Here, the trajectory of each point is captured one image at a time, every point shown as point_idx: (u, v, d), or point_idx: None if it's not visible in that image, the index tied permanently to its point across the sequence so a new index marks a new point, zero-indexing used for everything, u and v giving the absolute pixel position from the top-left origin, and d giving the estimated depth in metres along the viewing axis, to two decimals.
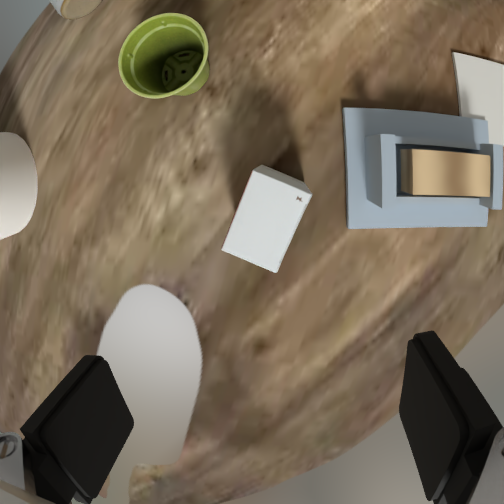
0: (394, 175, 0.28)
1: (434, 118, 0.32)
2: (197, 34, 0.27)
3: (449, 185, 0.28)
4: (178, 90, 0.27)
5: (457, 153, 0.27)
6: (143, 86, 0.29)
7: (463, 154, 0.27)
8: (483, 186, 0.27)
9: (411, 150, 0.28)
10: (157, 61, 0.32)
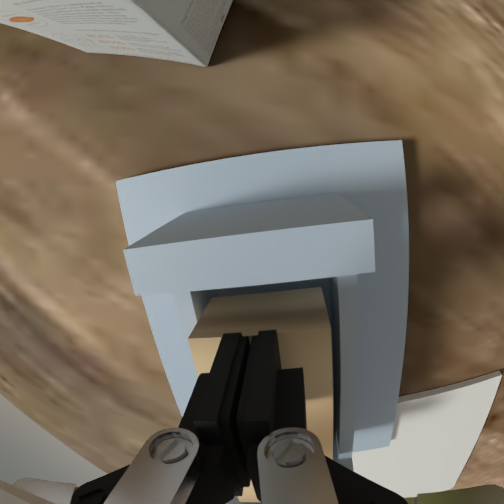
0: (233, 280, 0.09)
1: (393, 355, 0.16)
2: None
3: None
4: None
5: (329, 445, 0.11)
6: None
7: (328, 456, 0.11)
8: None
9: (325, 324, 0.10)
10: None
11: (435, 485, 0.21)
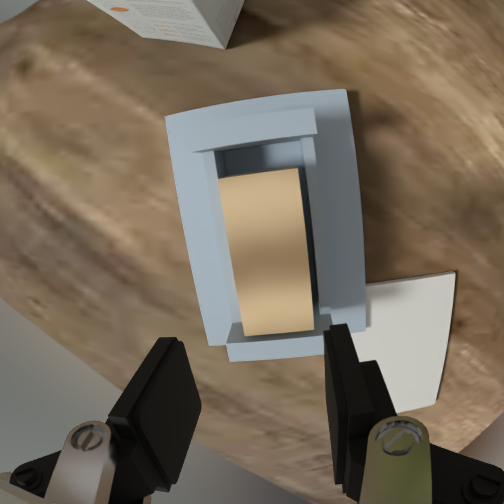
0: (245, 139, 0.17)
1: (355, 236, 0.24)
2: None
3: (246, 249, 0.19)
4: None
5: (306, 262, 0.19)
6: None
7: (306, 274, 0.19)
8: (259, 321, 0.20)
9: (295, 168, 0.18)
10: None
11: (417, 397, 0.29)
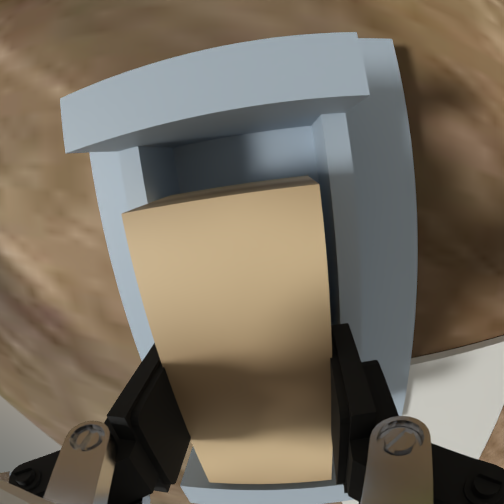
0: (181, 110, 0.06)
1: (403, 296, 0.14)
2: None
3: (197, 368, 0.08)
4: None
5: (328, 393, 0.08)
6: None
7: (326, 412, 0.08)
8: (232, 469, 0.09)
9: (311, 184, 0.07)
10: None
11: None
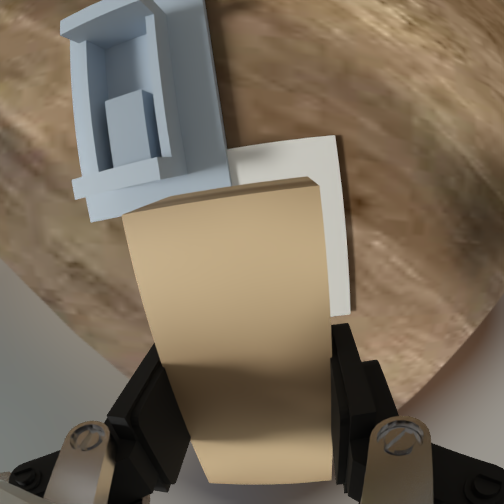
0: (92, 17, 0.17)
1: (208, 97, 0.24)
2: None
3: (197, 369, 0.08)
4: None
5: (328, 394, 0.08)
6: None
7: (326, 412, 0.08)
8: (232, 470, 0.09)
9: (311, 185, 0.07)
10: None
11: None
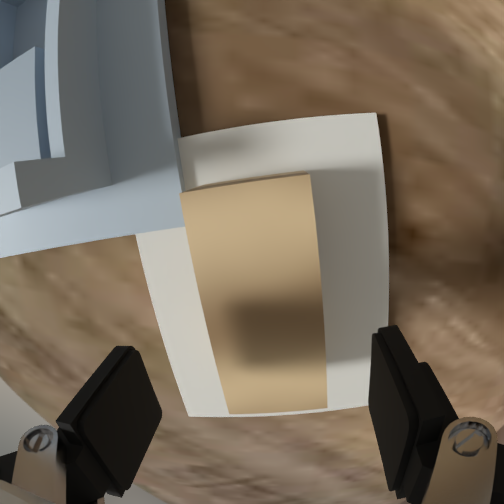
0: None
1: (147, 49, 0.12)
2: None
3: (226, 304, 0.12)
4: None
5: (320, 322, 0.12)
6: None
7: (320, 339, 0.12)
8: (249, 398, 0.13)
9: (305, 174, 0.11)
10: None
11: (341, 386, 0.17)
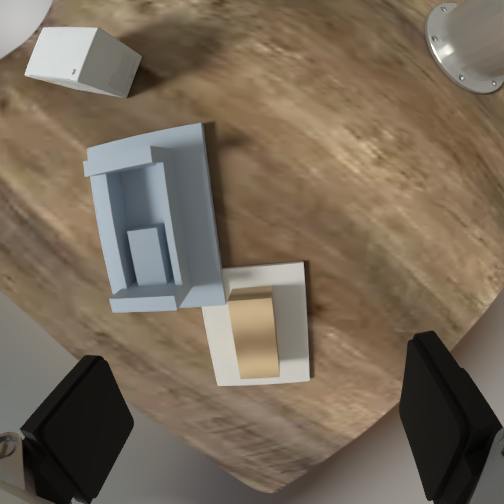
0: (112, 168, 0.27)
1: (208, 230, 0.34)
2: None
3: (242, 337, 0.34)
4: None
5: (275, 344, 0.34)
6: None
7: (275, 349, 0.34)
8: (248, 371, 0.35)
9: (270, 297, 0.33)
10: None
11: (289, 370, 0.39)
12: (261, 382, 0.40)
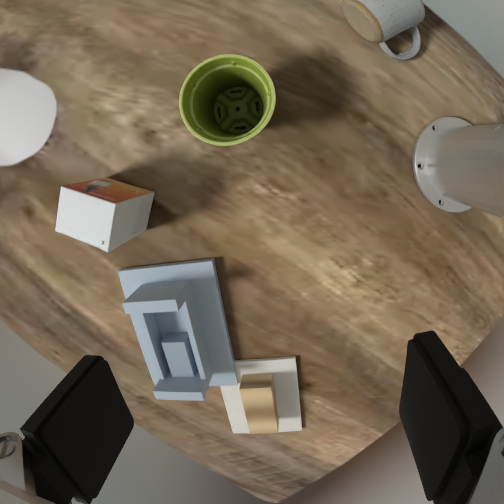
0: (147, 311, 0.37)
1: (222, 338, 0.44)
2: (254, 128, 0.31)
3: (250, 409, 0.44)
4: (185, 122, 0.30)
5: (274, 413, 0.44)
6: (201, 81, 0.30)
7: (274, 417, 0.44)
8: (255, 429, 0.45)
9: (270, 386, 0.43)
10: (245, 82, 0.34)
11: (286, 424, 0.49)
12: None
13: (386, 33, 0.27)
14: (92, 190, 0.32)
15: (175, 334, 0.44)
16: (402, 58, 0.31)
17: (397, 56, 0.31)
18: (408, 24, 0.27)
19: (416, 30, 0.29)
